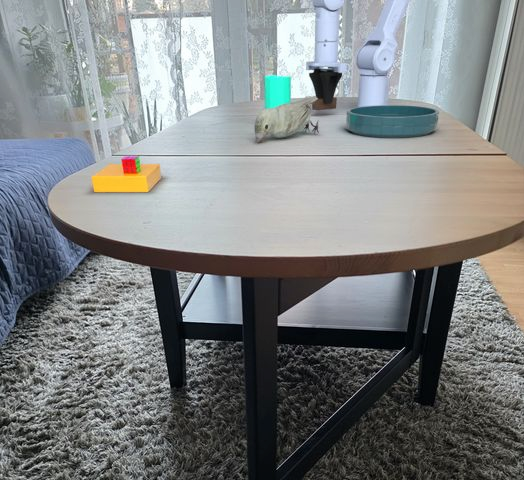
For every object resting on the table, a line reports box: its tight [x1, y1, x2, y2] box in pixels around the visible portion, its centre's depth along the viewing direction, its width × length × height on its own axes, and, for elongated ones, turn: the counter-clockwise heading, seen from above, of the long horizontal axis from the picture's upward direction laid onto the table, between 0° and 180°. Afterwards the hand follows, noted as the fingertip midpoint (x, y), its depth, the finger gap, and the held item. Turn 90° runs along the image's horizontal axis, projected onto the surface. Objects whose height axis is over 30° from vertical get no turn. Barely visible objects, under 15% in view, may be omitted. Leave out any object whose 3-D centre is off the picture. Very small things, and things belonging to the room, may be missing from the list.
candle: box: [263, 68, 292, 110], centre depth 117 cm, size 6×6×12 cm
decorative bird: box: [253, 95, 320, 144], centre depth 105 cm, size 5×16×8 cm, turn 129°
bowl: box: [345, 104, 440, 139], centre depth 111 cm, size 19×19×4 cm
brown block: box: [311, 96, 338, 111], centre depth 132 cm, size 6×3×3 cm, turn 120°
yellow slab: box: [91, 155, 162, 193], centre depth 75 cm, size 8×8×4 cm
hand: (324, 103), depth 132 cm, fingers closed on brown block, 2 cm apart
